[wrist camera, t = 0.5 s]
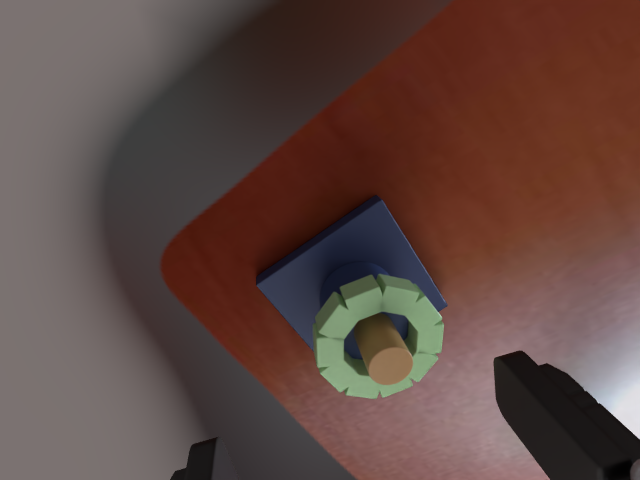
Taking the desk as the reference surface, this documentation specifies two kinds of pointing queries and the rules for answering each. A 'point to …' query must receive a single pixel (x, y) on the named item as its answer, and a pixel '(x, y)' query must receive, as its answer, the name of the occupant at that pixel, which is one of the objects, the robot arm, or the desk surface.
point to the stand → (345, 267)
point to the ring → (360, 304)
